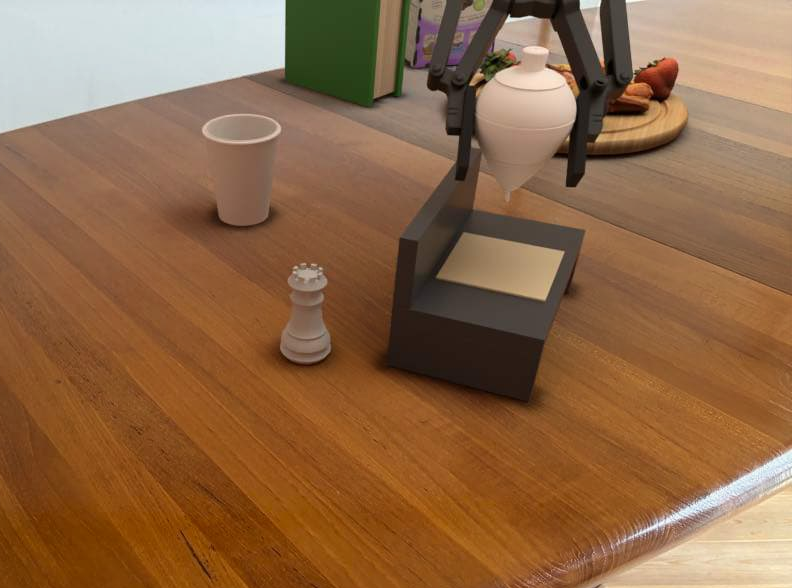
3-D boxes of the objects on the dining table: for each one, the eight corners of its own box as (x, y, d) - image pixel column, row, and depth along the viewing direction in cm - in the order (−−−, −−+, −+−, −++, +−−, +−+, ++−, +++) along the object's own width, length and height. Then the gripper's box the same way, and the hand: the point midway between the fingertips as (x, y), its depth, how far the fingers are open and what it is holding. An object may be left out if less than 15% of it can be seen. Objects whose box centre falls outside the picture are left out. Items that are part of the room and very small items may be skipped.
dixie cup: (197, 205, 95) (192, 119, 89) (265, 194, 97) (264, 109, 91) (220, 236, 89) (216, 146, 82) (291, 223, 91) (293, 134, 85)
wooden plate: (658, 84, 126) (674, 27, 121) (711, 165, 102) (734, 98, 96) (446, 76, 131) (453, 20, 126) (448, 152, 106) (457, 87, 101)
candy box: (478, 53, 140) (495, -56, 130) (492, 63, 136) (510, -49, 125) (401, 58, 139) (411, -52, 128) (412, 68, 134) (424, -45, 124)
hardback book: (401, 95, 124) (418, -89, 109) (368, 107, 120) (382, -82, 105) (317, 70, 134) (322, -101, 119) (284, 80, 130) (286, -95, 115)
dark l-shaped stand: (571, 286, 79) (602, 167, 72) (529, 402, 65) (562, 269, 58) (449, 261, 84) (466, 146, 76) (385, 365, 70) (399, 237, 62)
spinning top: (497, 230, 64) (527, 70, 56) (440, 192, 69) (461, 42, 62) (575, 211, 66) (614, 55, 58) (514, 176, 71) (543, 29, 64)
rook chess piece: (334, 365, 70) (339, 283, 65) (282, 368, 70) (283, 286, 65) (326, 335, 73) (330, 256, 68) (277, 338, 73) (277, 258, 68)
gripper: (661, -65, 67) (642, 203, 65) (408, -69, 70) (381, 187, 68) (698, -135, 60) (678, 165, 57) (413, -136, 63) (383, 149, 60)
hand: (517, 176), depth 63 cm, fingers closed on spinning top, 8 cm apart
